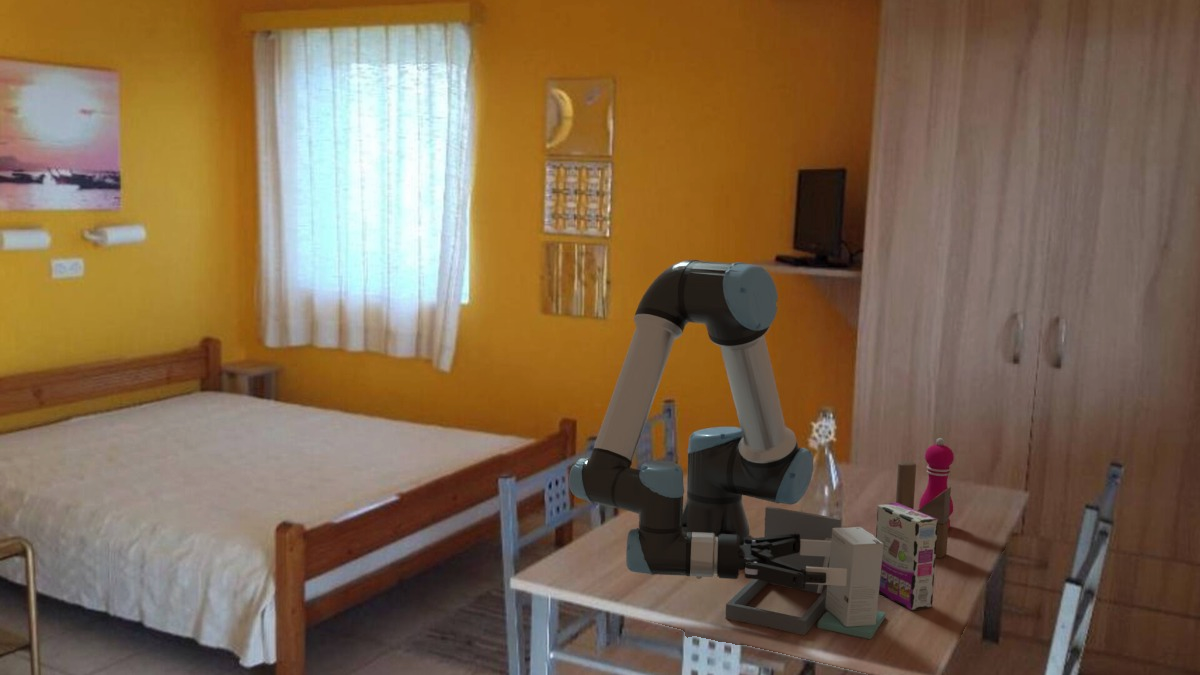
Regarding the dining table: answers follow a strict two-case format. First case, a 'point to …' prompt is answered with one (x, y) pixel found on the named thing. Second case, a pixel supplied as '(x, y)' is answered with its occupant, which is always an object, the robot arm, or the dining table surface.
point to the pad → (835, 625)
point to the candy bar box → (907, 555)
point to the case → (783, 525)
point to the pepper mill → (937, 472)
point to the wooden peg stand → (934, 508)
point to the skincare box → (855, 576)
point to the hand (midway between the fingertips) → (842, 562)
